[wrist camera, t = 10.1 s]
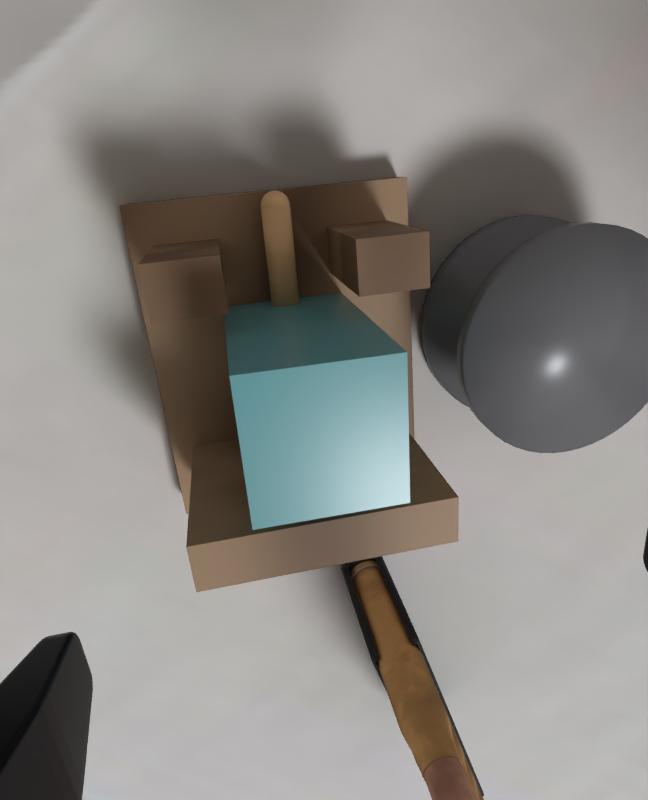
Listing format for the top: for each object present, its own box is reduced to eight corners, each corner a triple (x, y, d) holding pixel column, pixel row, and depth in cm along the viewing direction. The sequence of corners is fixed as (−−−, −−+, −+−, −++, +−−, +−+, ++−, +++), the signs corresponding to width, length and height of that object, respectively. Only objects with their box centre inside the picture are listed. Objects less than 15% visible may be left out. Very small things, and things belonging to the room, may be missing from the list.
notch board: (397, 177, 19) (492, 177, 12) (407, 461, 23) (481, 570, 17) (124, 204, 18) (74, 220, 11) (187, 499, 22) (176, 633, 16)
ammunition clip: (339, 564, 25) (442, 878, 14) (378, 548, 25) (511, 846, 14) (409, 714, 29) (529, 1042, 18) (442, 699, 29) (582, 1018, 18)
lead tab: (334, 184, 18) (404, 189, 11) (348, 401, 21) (410, 503, 14) (206, 196, 17) (204, 207, 11) (239, 416, 20) (252, 529, 14)
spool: (614, 205, 21) (700, 211, 17) (594, 394, 24) (664, 434, 20) (418, 227, 20) (465, 238, 16) (422, 421, 23) (463, 469, 19)
